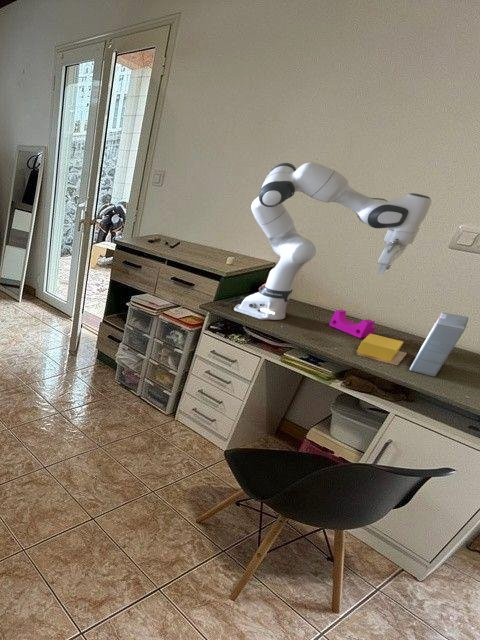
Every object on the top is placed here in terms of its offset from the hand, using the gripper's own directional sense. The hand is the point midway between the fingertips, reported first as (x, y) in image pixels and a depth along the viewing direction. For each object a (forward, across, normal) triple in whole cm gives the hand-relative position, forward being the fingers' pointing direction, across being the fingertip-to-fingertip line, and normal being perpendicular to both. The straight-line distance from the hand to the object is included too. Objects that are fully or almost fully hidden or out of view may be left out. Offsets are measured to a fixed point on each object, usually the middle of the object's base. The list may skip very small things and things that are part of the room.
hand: (383, 271), depth 177 cm
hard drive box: (+29, -16, -27) cm, 43 cm away
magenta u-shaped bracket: (+29, +4, +2) cm, 30 cm away
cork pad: (+29, -14, -13) cm, 35 cm away
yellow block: (+26, -14, -6) cm, 31 cm away
